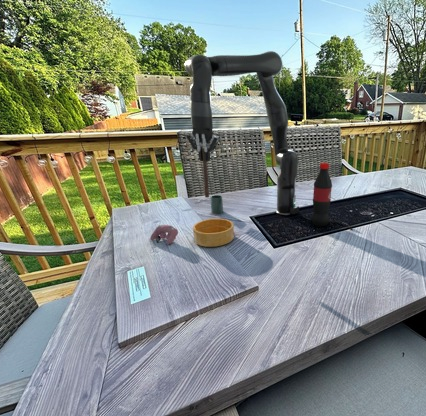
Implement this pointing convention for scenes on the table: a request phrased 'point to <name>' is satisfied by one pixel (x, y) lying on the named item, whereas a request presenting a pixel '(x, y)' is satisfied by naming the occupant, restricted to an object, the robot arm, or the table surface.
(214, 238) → the bowl
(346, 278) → the table surface
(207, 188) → the stick
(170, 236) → the video game controller
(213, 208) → the holder
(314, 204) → the cola bottle
